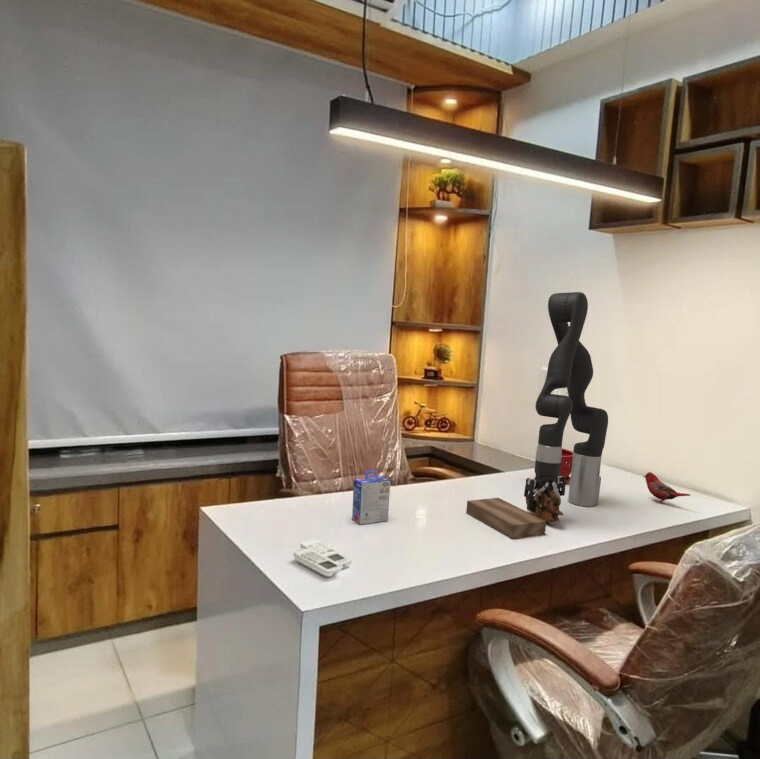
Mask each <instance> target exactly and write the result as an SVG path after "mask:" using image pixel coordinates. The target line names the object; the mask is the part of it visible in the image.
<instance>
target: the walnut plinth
mask: <svg viewBox="0 0 760 759" xmlns="http://www.w3.org/2000/svg"><path fill="white" fill-rule="evenodd" d="M465 514H467V515H469V516H470V517H472V518H474V519H475V520H477V521H479V522H481V523H482V524H484V525H486V526H488V527H489V528H491V529H493V530H495V531H497V532H498V533H500V534H502V535H504V536H505V537H507V538H509V539H510V540H517V539H523V538H530V537H531V538H532V537H537V536H544V535H545V534H546V527H547V522H546V521H545V520H543V519H541V518H539V517H536V516H534V515H533V513H531V512H529V511H527V510H524V509H522V508H520V507H518V506H516V505H514V504H512V503H510V502H508V501H506V500H504V499H501V498H500V497H494V498H493V497H492V498H482V499H471V500H467V501H466V512H465Z"/></svg>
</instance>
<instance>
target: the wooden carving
mask: <svg viewBox="0 0 760 759" xmlns="http://www.w3.org/2000/svg"><path fill="white" fill-rule="evenodd" d="M536 490H537V491H539V490H538V489H536ZM535 494H536V493H535ZM535 494H534V495H535ZM536 501H537V505H536V512H531V511H530V510H529V498H526V497H525V504H526V511H527V512H531V514H532V515H534V516H536V517H539V518H541V519H543V520H545V521H546V523H558V522H559V521H560V518H559V516H564V512H563V511H561V510H560V506H561V503H562V502H561V501H562V500H561V496H560V497H558V495H557V494H556V493H555V492H554V491H553V490H548V491H547V492H543V493H542V494H541V495H540V496H539V497H538V498H537V500H536Z"/></svg>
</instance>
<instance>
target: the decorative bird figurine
mask: <svg viewBox="0 0 760 759" xmlns="http://www.w3.org/2000/svg"><path fill="white" fill-rule="evenodd" d="M642 477H643V478H644V479H645V482H646V486H647V489H648V491H649V492H650V494H651V495H652V496H653V497H654V498H656V499H651V500H652V501H654V502H655V503H657V504H658V503H659V504H661V505H663V504H664V505H666V503H665V502H664V501H667V500H673V499H675V498H678V497H687V496H688V497H689V496H691V494H689V493H682V492H677V491H676V490H675V489H673V488H672V487H671V486H669V485H668V484H666V483H664V482H662V481H661V480H659V478H658V476H656V475H655V474H654V473H653V472H647V473H646V474H645V475H644V476H642ZM658 499H659V500H658Z"/></svg>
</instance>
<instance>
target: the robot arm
mask: <svg viewBox="0 0 760 759" xmlns="http://www.w3.org/2000/svg"><path fill="white" fill-rule="evenodd" d="M587 298H588V297H587V296H586V294H585V293H584V292H581V291H571V292H557V293H552V294H551V295H550V296H549V298H548V301H547V309H548V310H547V311H548V315H549V316H548V317H549V320H550V324H551V326H552V328H553V333H554V336H555V339H556V343H557V346H556V347H555V349H553V351H552V353H551V355H550V357H549V361H548V365H547V372H546V377H545V380H544V381H545V382H544V384H543V386H542V389H541V391H540V393H539V395H538V397H537V399H536V401H535V411H536V413H537V414H538V415H539V416H541V417H548V418H553V419H557V421H556V422H555V423H547V424H541V425H540V427H539V431H538V432H539V433H538V440H537V441H538V442H537V446H536V451H535V461H534V462H535V463H534V474H535V476H534V478H529V477H527V478H526V479H525V486H524V492H523V497H524V498H525V499H526V498H529V510H530V511H529V512H530V513H532V512H536V505H537V501H536V500H537V498H538V497H539V496H540V495H541V494H542V493H543V492H547V491H548V490H553V491H554V492H555V493H556V494H557V495H558V497H560V498H561V496H562V497H563V496H565V495H566V484H567V483H566V478H565V477H563V476H560V467H561V457H562V449H563V448H562V447H563V438H564V432H565V428H566V425H567V422H568V419H569V418H570V421H571V425H572V428H573V429H574V430H575V431H576V432H578V433H583V434H585V435H588V439H587V440H586V441H582V442H581V441H580V442H577V443H575V444H574V445H573V451H572V452H573V459H572V469H571V474H570V481H569V486H568V488H569V489H568V497H567V500H568V502H569V503H571V504H572V505H577V506H579V507H580V506H581V507H595V506H596V505H598V504H599V501H600V491H601V483H602V477H601V476H600V475H601V474H600V473H601V466H602V464H601V463H602V456H603V450H604V448H605V443H606V438H607V432H608V426H609V414H608V411H606V410H605V409H603V408H599V407H594V406H588V405H587V403H586V399H585V398H586V396H585V394H586V392H587V389H588V386H589V385H590V384H591V381H592V379H593V376H594V367H593V363H592V362H593V361H592V356H591V354H590V352H589V351H588V349H587V348H586V347H585V345H584V344H583V343H582V342H581V341H580V339H581V336H582V333H583V328H584V326H585V324H586V323H585V322H586V319H587V316H588V308H589V301H588V299H587ZM565 388H566V391H567V395H568V396H567V395H563V394H554V393H553V392H554V391H555V390H557V389H558V390H559V389H565ZM537 489H538V490H539V491H537ZM535 493H536V494H535Z"/></svg>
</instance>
